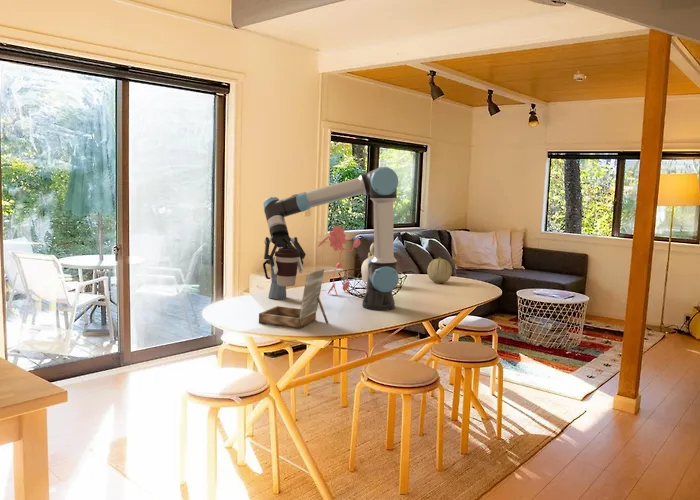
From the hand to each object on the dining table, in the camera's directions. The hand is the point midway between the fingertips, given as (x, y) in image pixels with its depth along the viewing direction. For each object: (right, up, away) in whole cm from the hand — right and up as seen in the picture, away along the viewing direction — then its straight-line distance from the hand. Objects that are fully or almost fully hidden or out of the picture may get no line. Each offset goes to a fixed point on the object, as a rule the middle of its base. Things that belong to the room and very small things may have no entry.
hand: (289, 271), depth 234 cm
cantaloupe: (+77, -11, +112) cm, 137 cm away
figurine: (+16, -14, +69) cm, 72 cm away
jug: (+38, -11, +94) cm, 102 cm away
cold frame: (+2, -21, +4) cm, 21 cm away
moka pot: (-11, -15, +50) cm, 54 cm away
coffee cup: (-2, -6, +4) cm, 7 cm away
